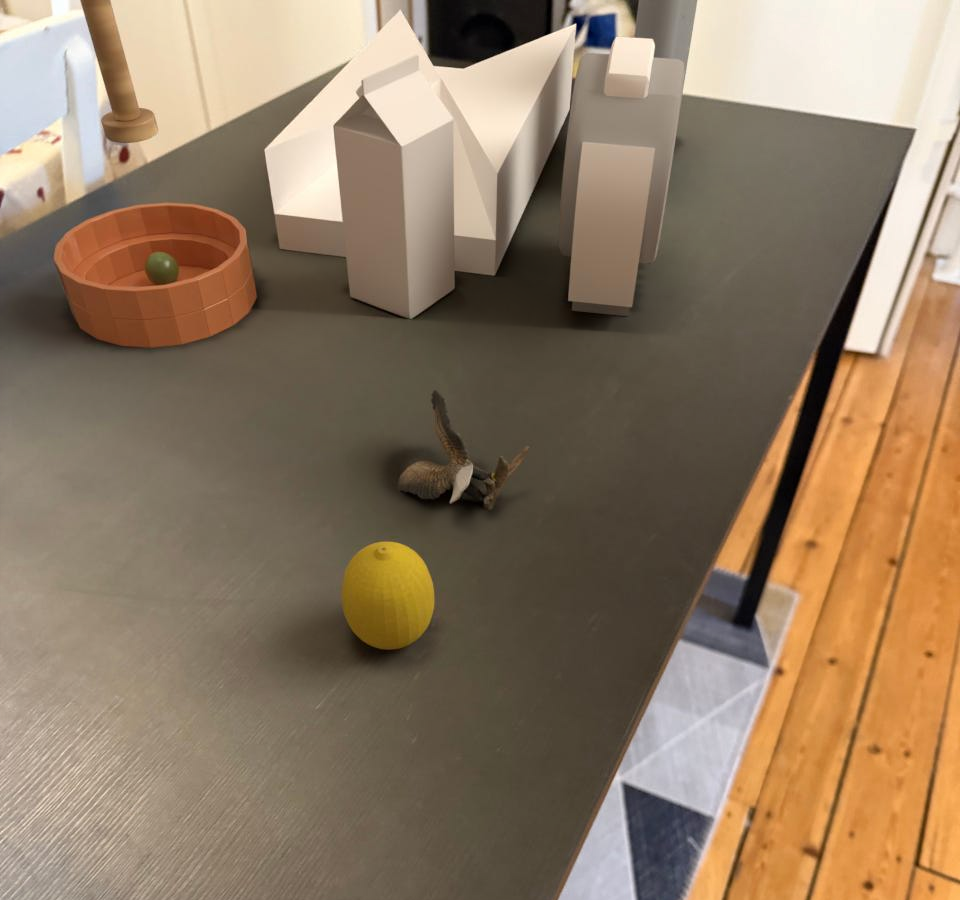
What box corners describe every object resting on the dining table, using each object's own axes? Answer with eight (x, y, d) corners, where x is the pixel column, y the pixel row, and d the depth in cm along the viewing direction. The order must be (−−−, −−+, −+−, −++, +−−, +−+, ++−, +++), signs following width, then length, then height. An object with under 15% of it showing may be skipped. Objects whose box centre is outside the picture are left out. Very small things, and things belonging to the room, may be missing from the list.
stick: (96, 141, 70) (14, -127, 58) (119, 122, 73) (45, -139, 61) (145, 145, 70) (72, -126, 58) (166, 125, 72) (101, -138, 60)
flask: (638, 141, 111) (673, -124, 93) (675, 146, 111) (718, -120, 92) (605, 199, 101) (637, -87, 82) (647, 206, 100) (689, -83, 81)
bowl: (47, 349, 80) (22, 283, 75) (114, 260, 90) (96, 198, 86) (230, 361, 79) (216, 295, 74) (276, 270, 89) (266, 207, 85)
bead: (136, 264, 85) (138, 261, 82) (163, 247, 85) (166, 243, 83) (157, 294, 86) (159, 292, 84) (184, 277, 87) (187, 274, 84)
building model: (494, 275, 89) (497, 173, 82) (279, 248, 92) (264, 148, 85) (569, 109, 118) (576, 23, 111) (404, 93, 121) (400, 8, 114)
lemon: (334, 663, 57) (319, 570, 51) (367, 601, 60) (357, 507, 54) (418, 684, 56) (413, 592, 50) (447, 620, 59) (445, 527, 53)
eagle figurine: (538, 466, 68) (443, 405, 70) (524, 431, 61) (419, 364, 63) (477, 550, 68) (384, 486, 70) (457, 524, 61) (354, 454, 63)
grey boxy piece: (571, 239, 94) (592, 7, 79) (654, 246, 93) (691, 14, 78) (549, 329, 83) (568, 78, 67) (644, 339, 82) (685, 87, 67)
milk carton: (455, 290, 87) (453, 63, 73) (410, 322, 83) (398, 89, 69) (396, 268, 90) (382, 46, 75) (349, 298, 86) (326, 70, 72)
